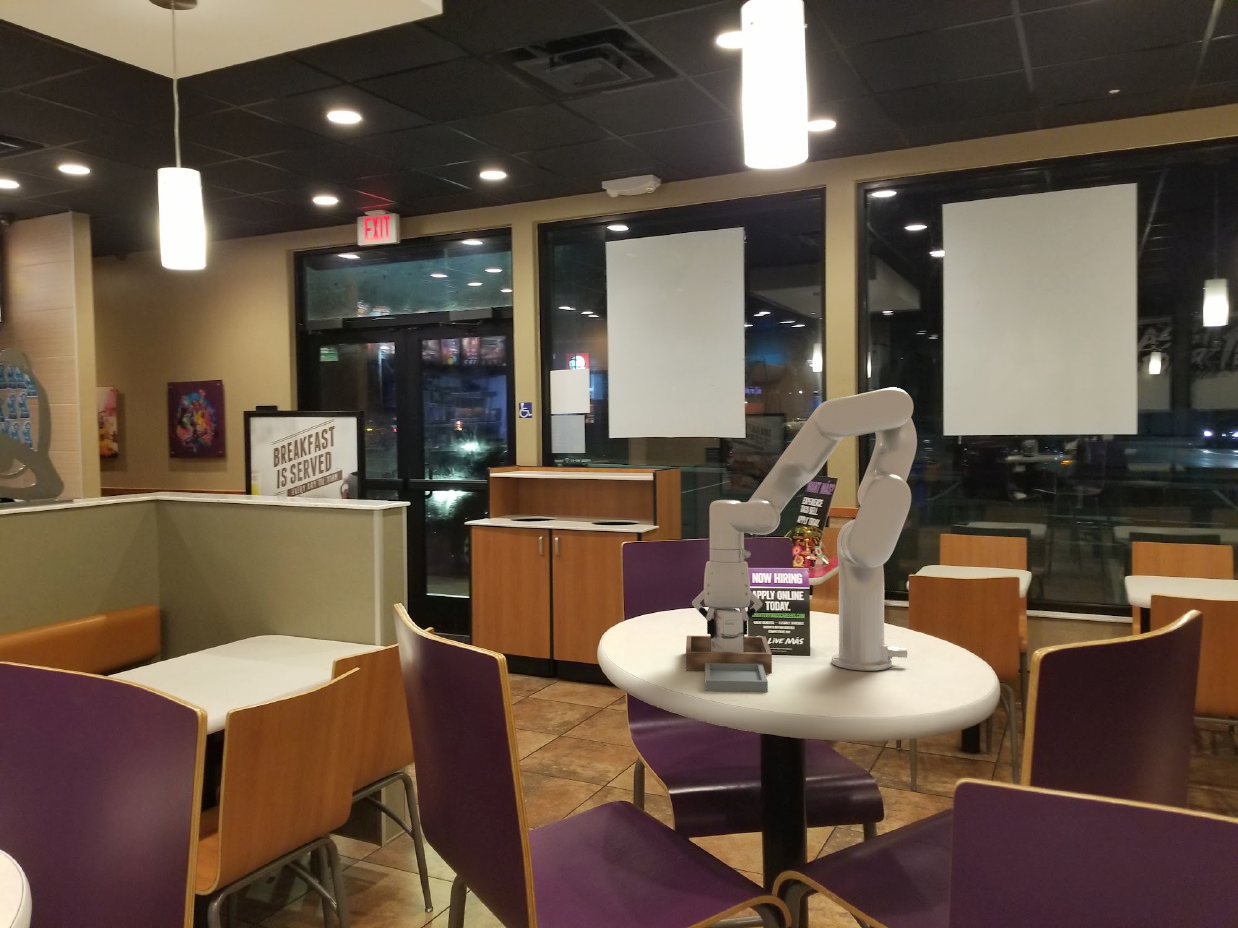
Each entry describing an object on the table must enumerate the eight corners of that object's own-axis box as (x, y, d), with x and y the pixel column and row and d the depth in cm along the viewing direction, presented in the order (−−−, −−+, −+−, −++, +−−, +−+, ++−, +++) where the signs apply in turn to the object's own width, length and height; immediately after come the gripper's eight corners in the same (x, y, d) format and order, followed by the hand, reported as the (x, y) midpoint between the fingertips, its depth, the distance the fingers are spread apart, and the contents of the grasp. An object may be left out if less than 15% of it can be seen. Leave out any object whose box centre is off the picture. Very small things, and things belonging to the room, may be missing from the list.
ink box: (744, 666, 189) (744, 612, 189) (722, 667, 188) (722, 613, 188) (731, 657, 198) (731, 605, 197) (710, 658, 197) (710, 606, 196)
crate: (765, 653, 201) (765, 636, 200) (771, 672, 184) (771, 653, 184) (686, 652, 202) (686, 635, 202) (685, 671, 185) (685, 652, 185)
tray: (762, 673, 183) (762, 663, 183) (767, 691, 169) (767, 681, 169) (704, 672, 184) (704, 662, 184) (705, 690, 170) (705, 680, 170)
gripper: (765, 554, 195) (765, 634, 196) (687, 554, 197) (688, 633, 197) (767, 558, 188) (768, 642, 188) (687, 558, 189) (687, 640, 190)
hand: (727, 636), depth 193 cm, fingers closed on ink box, 6 cm apart
